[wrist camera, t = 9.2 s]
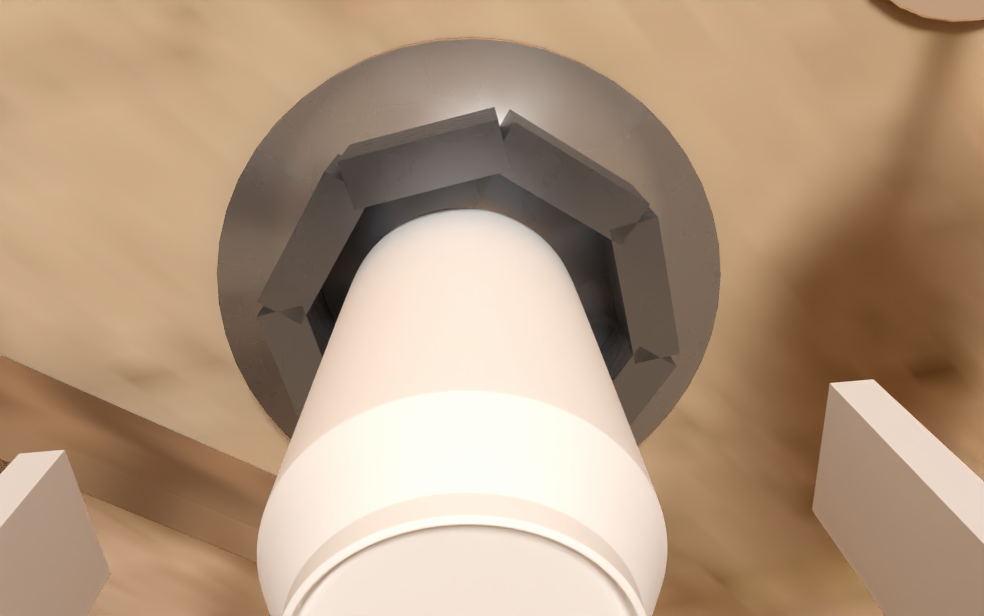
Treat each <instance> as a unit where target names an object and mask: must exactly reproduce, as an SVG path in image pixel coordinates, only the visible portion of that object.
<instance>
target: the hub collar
mask: <svg viewBox="0 0 984 616" xmlns="http://www.w3.org/2000/svg"><path fill="white" fill-rule="evenodd" d="M448 208H477V209H484V210H489V211H493V212H497V213H500V214H503V215H506V216H508V217H510V218H513V219H515V220H517V221H519V222H521V223H522V224H524V225H526V226H527V227H529V228H530V229H532V230H533V231H534V232H536V233H537V234H538V235H539V236H541V237H542V238H543V239H544V240H545V241H546V242H547V243H548V244H549V245H550V246H551V247H552V249H553V250H554V251H555V252H556V253H557V255H558V256H559V258H560V259H561V261H562V262H563V264H564V265H565V267H566V269H567V271H568V273H569V275H570V277H571V279H572V282H573V284H574V286H575V289H576V291H577V294H578V296H579V298H580V301H581V303H582V306H583V308H584V311H585V314H586V316H587V319H588V321H589V324H590V326H591V329H592V331H593V334H594V336H595V339H596V341H597V344H598V347H599V349H600V352H601V354H602V357H603V359H604V362H605V364H606V367H607V369H608V372H609V375H610V377H611V380H612V382H613V385H614V387H615V390H616V392H617V395H618V398H619V400H620V403H621V405H622V408H623V410H624V413H625V416H626V418H627V421H628V423H629V426H630V428H631V431H632V433H633V436H634V439H635V441H636V444H637V445H638V444H640V443H641V442H642V441H643V440H644V439H645V438H646V437H647V436H649V435H650V434H651V433H652V432H653V431H654V430H655V429H656V428H657V426H658V425H659V424H660V423H661V422H662V421H663V420H664V419H665V418H666V416H667V415H668V414H669V413H670V412H671V411H672V409H673V408H674V406H675V405H676V404H677V402H678V401H679V399H680V398H681V396H682V395H683V394H684V392H685V391H686V389H687V388H688V386H689V384H690V382H691V380H692V378H693V377H694V375H695V373H696V371H697V369H698V367H699V365H700V363H701V361H702V358H703V356H704V353H705V350H706V348H707V345H708V342H709V340H710V337H711V334H712V330H713V325H714V321H715V316H716V312H717V307H718V299H719V287H720V276H721V275H720V257H719V243H718V238H717V233H716V228H715V223H714V218H713V214H712V211H711V208H710V205H709V202H708V200H707V197H706V194H705V191H704V188H703V186H702V183H701V181H700V179H699V178H698V176H697V174H696V172H695V170H694V168H693V166H692V164H691V162H690V161H689V159H688V157H687V155H686V154H685V152H684V151H683V149H682V148H681V147H680V145H679V144H678V143H677V141H676V140H675V139H674V137H673V136H672V134H671V133H670V132H669V130H668V129H667V128H666V127H665V126H664V125H663V124H662V123H661V122H660V121H659V120H658V119H657V118H656V116H655V115H654V114H653V113H652V112H651V111H650V110H649V109H648V108H647V107H646V106H645V105H644V104H643V103H641V102H640V101H639V100H638V99H636V98H635V97H634V96H632V95H631V94H630V93H628V92H627V91H626V90H624V89H623V88H622V87H620V86H619V85H618V84H617V83H615V82H614V81H612V80H610V79H609V78H607V77H605V76H603V75H601V74H600V73H598V72H596V71H594V70H592V69H591V68H589V67H587V66H585V65H584V64H582V63H580V62H578V61H576V60H573V59H571V58H568V57H566V56H563V55H560V54H558V53H555V52H553V51H550V50H548V49H545V48H541V47H537V46H532V45H528V44H524V43H519V42H515V41H511V40H501V39H490V38H479V37H466V38H446V39H435V40H430V41H425V42H420V43H414V44H409V45H404V46H401V47H398V48H395V49H392V50H389V51H386V52H383V53H380V54H377V55H375V56H372V57H369V58H367V59H365V60H363V61H361V62H359V63H357V64H355V65H353V66H351V67H349V68H347V69H346V70H344V71H342V72H340V73H338V74H336V75H335V76H333V77H332V78H330V79H329V80H327V81H326V82H325V83H323V84H322V85H320V86H319V87H317V88H316V89H315V90H313V91H312V92H310V93H309V94H308V95H306V96H305V97H303V98H302V99H301V100H300V101H299V102H298V103H297V104H296V105H295V106H294V107H293V108H291V109H290V110H289V111H288V112H287V113H286V114H285V115H284V116H283V117H282V118H281V119H280V120H279V121H278V122H277V123H276V124H275V125H274V127H273V128H272V129H271V130H270V132H269V133H268V134H267V136H266V137H265V138H264V139H263V141H262V142H261V143H260V144H259V146H258V147H257V148H256V150H255V151H254V153H253V155H252V156H251V158H250V160H249V162H248V163H247V165H246V167H245V169H244V170H243V172H242V174H241V176H240V178H239V179H238V182H237V184H236V187H235V190H234V192H233V195H232V197H231V200H230V202H229V205H228V208H227V210H226V215H225V219H224V224H223V228H222V232H221V237H220V241H219V254H218V267H217V280H218V294H219V306H220V310H221V315H222V320H223V324H224V329H225V334H226V337H227V339H228V342H229V345H230V348H231V350H232V353H233V356H234V359H235V361H236V364H237V365H238V367H239V369H240V371H241V373H242V375H243V377H244V379H245V381H246V383H247V385H248V386H249V388H250V390H251V391H252V393H253V394H254V396H255V397H256V398H257V400H258V401H259V403H260V404H261V405H262V407H263V408H264V410H265V411H266V413H267V414H268V415H269V416H270V417H271V418H272V419H273V420H274V421H275V423H276V424H277V425H278V426H279V427H280V428H281V429H282V430H283V431H284V432H285V434H286V435H288V436H289V437H290V438H292V436H293V433H294V431H295V428H296V425H297V423H298V420H299V418H300V415H301V412H302V410H303V407H304V405H305V402H306V399H307V397H308V394H309V392H310V389H311V386H312V384H313V381H314V378H315V376H316V373H317V371H318V368H319V365H320V363H321V360H322V358H323V355H324V352H325V350H326V347H327V345H328V342H329V340H330V337H331V334H332V332H333V329H334V327H335V324H336V321H337V319H338V316H339V314H340V311H341V309H342V306H343V304H344V301H345V298H346V296H347V293H348V291H349V289H350V286H351V284H352V281H353V279H354V277H355V275H356V273H357V271H358V269H359V267H360V265H361V264H362V262H363V260H364V259H365V257H366V256H367V255H368V253H369V252H370V251H371V250H372V248H373V247H374V246H375V245H376V244H377V243H378V242H379V241H380V240H381V239H382V238H383V237H384V236H385V235H387V234H388V233H389V232H390V231H392V230H393V229H395V228H396V227H398V226H399V225H401V224H403V223H404V222H406V221H408V220H410V219H412V218H414V217H417V216H419V215H422V214H425V213H428V212H432V211H436V210H441V209H448Z"/></svg>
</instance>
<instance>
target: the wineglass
mask: <svg viewBox="0 0 984 616" xmlns="http://www.w3.org/2000/svg"><path fill="white" fill-rule="evenodd" d="M889 1H890V2H892V3H893V4H894V5H896V6H897V7H898V8H901V9H903V10H905V11H908V12H910V13H912V14H915V15H917V16H919V17H922V18H927V19H933V20H939V21H945V22H964V21H980V20H984V0H889Z"/></svg>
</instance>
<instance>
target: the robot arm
mask: <svg viewBox="0 0 984 616" xmlns="http://www.w3.org/2000/svg"><path fill="white" fill-rule="evenodd" d="M812 511H813V512H814V514H815V515H816V517H817V518H818V520H819V521H820V523H821V524H822V525H823V527H824V528H825V530H826V531H827V533H828V534H829V536H830V537H831V538H832V540H833V541H834V543H835V544H836V546H837V547H838V549H839V550H840V551H841V553H842V554H843V556H844V557H845V559H846V560H847V562H848V563H849V564H850V566H851V567H852V569H853V570H854V572H855V573H856V575H857V576H858V577H859V579H860V580H861V582H862V583H863V585H864V586H865V588H866V589H867V590H868V592H869V593H870V595H871V596H872V598H873V599H874V601H875V602H876V603H877V605H878V606H879V608H880V609H881V611H882V612H883V614H884V615H885V616H984V482H983V481H982V480H981V479H980V478H979V477H978V476H977V475H976V474H975V473H974V472H973V471H972V470H971V469H969V468H968V467H967V466H966V465H965V464H964V463H963V462H962V461H961V460H960V459H959V458H958V457H957V456H955V455H954V454H953V453H952V452H951V451H950V450H949V449H948V448H947V447H946V446H945V445H944V444H943V443H941V442H940V441H939V440H938V439H937V438H936V437H935V436H934V435H933V434H932V433H931V432H930V431H928V430H927V429H926V428H925V427H924V426H923V425H922V424H921V423H920V422H919V421H918V420H917V419H916V418H914V417H913V416H912V415H911V414H910V413H909V412H908V411H907V410H906V409H905V408H904V407H903V406H902V405H900V404H899V403H898V402H897V401H896V400H895V399H894V398H893V397H892V396H891V395H890V394H889V393H887V392H886V391H885V390H884V389H883V388H882V387H881V386H880V385H879V384H878V383H877V382H876V381H875V380H873V379H871V380H860V381H848V382H837V383H830V384H829V392H828V399H827V406H826V413H825V420H824V427H823V435H822V442H821V449H820V456H819V463H818V470H817V478H816V485H815V492H814V499H813V506H812ZM110 574H111V573H110V570H109V568H108V565H107V562H106V560H105V557H104V554H103V551H102V549H101V546H100V543H99V541H98V538H97V535H96V532H95V530H94V527H93V524H92V522H91V519H90V516H89V514H88V511H87V508H86V505H85V503H84V500H83V497H82V495H81V492H80V489H79V486H78V484H77V481H76V478H75V476H74V473H73V470H72V468H71V465H70V462H69V459H68V457H67V454H66V451H65V450H55V451H44V452H32V453H21V454H18V455H17V457H16V458H15V459H14V460H13V461H12V462H11V463H10V464H9V465H8V466H7V467H6V469H5V470H4V471H3V472H2V473H1V474H0V616H87V614H88V612H89V611H90V609H91V607H92V605H93V604H94V602H95V600H96V598H97V597H98V595H99V593H100V592H101V590H102V588H103V586H104V585H105V583H106V581H107V579H108V578H109V576H110Z"/></svg>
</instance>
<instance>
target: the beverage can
mask: <svg viewBox="0 0 984 616" xmlns="http://www.w3.org/2000/svg"><path fill="white" fill-rule="evenodd" d="M666 563H667V534H666V527H665V521H664V517H663V513H662V510H661V506H660V504H659V501H658V498H657V495H656V493H655V490H654V487H653V485H652V482H651V480H650V477H649V475H648V472H647V469H646V467H645V464H644V462H643V459H642V457H641V454H640V451H639V449H638V446H637V444H636V441H635V439H634V436H633V433H632V431H631V428H630V426H629V423H628V421H627V418H626V416H625V413H624V410H623V408H622V405H621V403H620V400H619V398H618V395H617V392H616V390H615V387H614V385H613V382H612V380H611V377H610V375H609V372H608V369H607V367H606V364H605V362H604V359H603V357H602V354H601V352H600V349H599V347H598V344H597V341H596V339H595V336H594V334H593V331H592V329H591V326H590V324H589V321H588V319H587V316H586V314H585V311H584V308H583V306H582V303H581V301H580V298H579V296H578V294H577V291H576V289H575V286H574V284H573V282H572V279H571V277H570V275H569V273H568V271H567V269H566V267H565V265H564V264H563V262H562V261H561V259H560V258H559V256H558V255H557V253H556V252H555V251H554V250H553V249H552V247H551V246H550V245H549V244H548V243H547V242H546V241H545V240H544V239H543V238H542V237H541V236H539V235H538V234H537V233H536V232H534V231H533V230H532V229H530V228H529V227H527V226H526V225H524V224H522V223H521V222H519V221H517V220H515V219H513V218H510V217H508V216H506V215H503V214H500V213H497V212H493V211H489V210H484V209H477V208H448V209H441V210H436V211H432V212H428V213H425V214H422V215H419V216H417V217H414V218H412V219H410V220H408V221H406V222H404V223H403V224H401V225H399V226H398V227H396V228H395V229H393V230H392V231H390V232H389V233H388V234H387V235H385V236H384V237H383V238H382V239H381V240H380V241H379V242H378V243H377V244H376V245H375V246H374V247H373V248H372V250H371V251H370V252H369V253H368V255H367V256H366V257H365V259H364V260H363V262H362V264H361V265H360V267H359V269H358V271H357V273H356V275H355V277H354V279H353V281H352V284H351V286H350V289H349V291H348V293H347V296H346V298H345V301H344V304H343V306H342V309H341V311H340V314H339V316H338V319H337V321H336V324H335V327H334V329H333V332H332V334H331V337H330V340H329V342H328V345H327V347H326V350H325V352H324V355H323V358H322V360H321V363H320V365H319V368H318V371H317V373H316V376H315V378H314V381H313V384H312V386H311V389H310V392H309V394H308V397H307V399H306V402H305V405H304V407H303V410H302V412H301V415H300V418H299V420H298V423H297V425H296V428H295V431H294V433H293V436H292V438H291V441H290V444H289V446H288V449H287V452H286V454H285V457H284V459H283V462H282V465H281V467H280V470H279V472H278V475H277V478H276V480H275V483H274V486H273V488H272V491H271V493H270V496H269V499H268V501H267V504H266V507H265V510H264V513H263V516H262V520H261V524H260V528H259V533H258V541H257V568H258V576H259V581H260V585H261V589H262V593H263V596H264V599H265V602H266V605H267V608H268V610H269V613H270V616H652V614H653V611H654V608H655V605H656V602H657V599H658V596H659V593H660V590H661V587H662V583H663V580H664V575H665V570H666Z"/></svg>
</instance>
